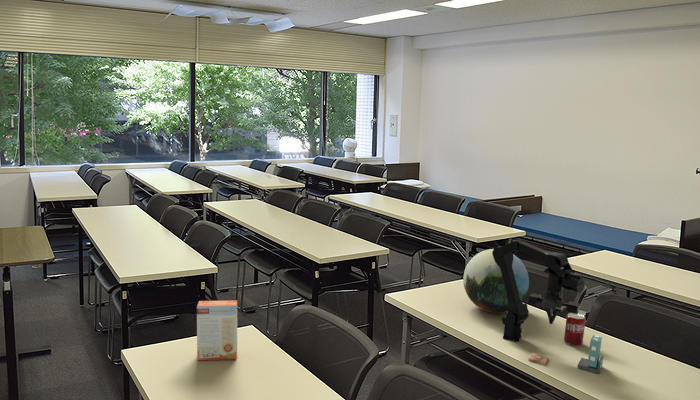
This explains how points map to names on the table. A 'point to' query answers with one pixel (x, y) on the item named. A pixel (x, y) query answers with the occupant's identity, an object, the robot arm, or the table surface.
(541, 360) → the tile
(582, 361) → the key two base
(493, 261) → the decorative globe
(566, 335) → the soda can
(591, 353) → the key two
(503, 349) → the table surface
